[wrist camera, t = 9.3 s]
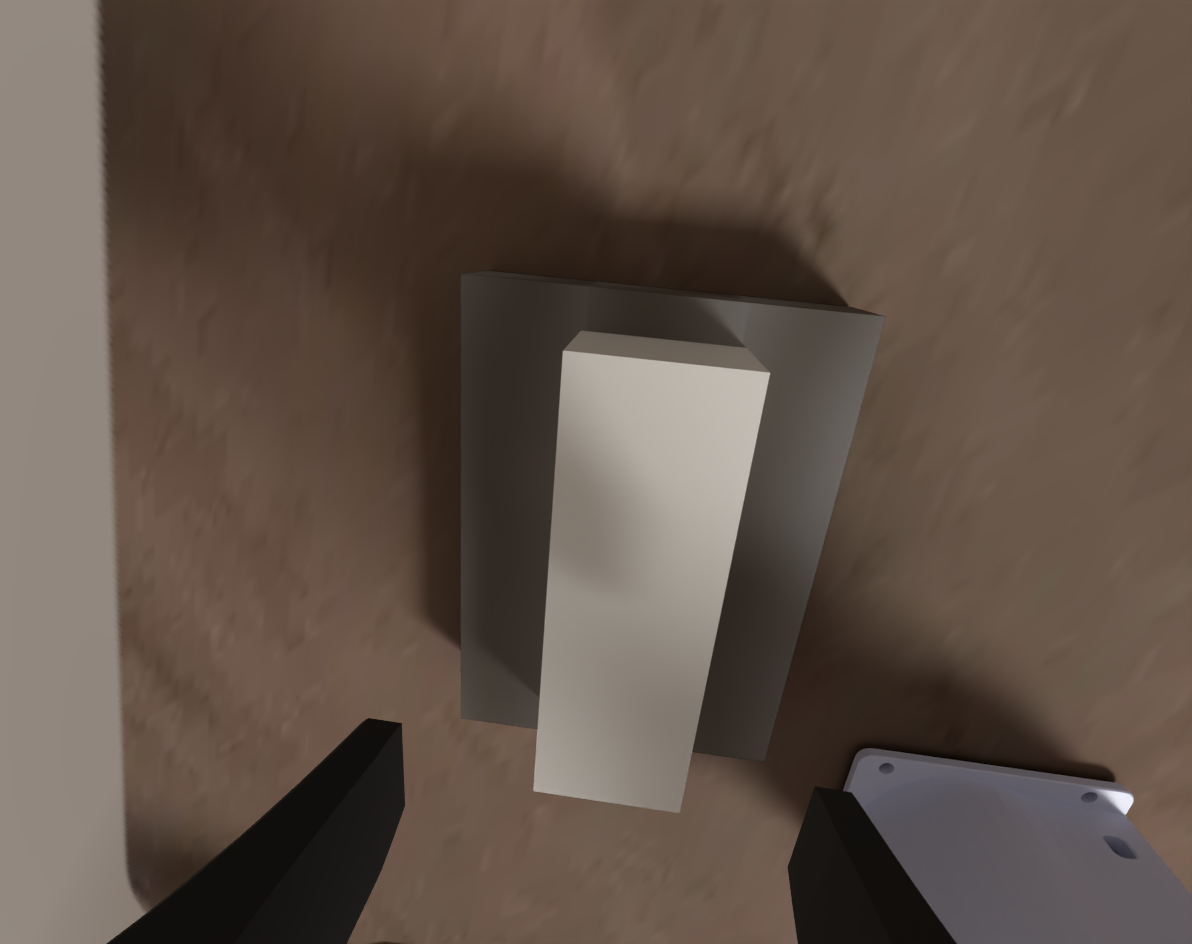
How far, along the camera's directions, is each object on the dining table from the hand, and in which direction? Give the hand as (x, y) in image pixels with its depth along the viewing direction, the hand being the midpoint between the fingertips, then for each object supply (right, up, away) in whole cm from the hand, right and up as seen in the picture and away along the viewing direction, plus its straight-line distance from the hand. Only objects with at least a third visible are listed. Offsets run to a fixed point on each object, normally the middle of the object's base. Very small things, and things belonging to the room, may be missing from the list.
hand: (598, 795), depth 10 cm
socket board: (+1, +4, +8) cm, 9 cm away
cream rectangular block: (+1, +4, +8) cm, 9 cm away
